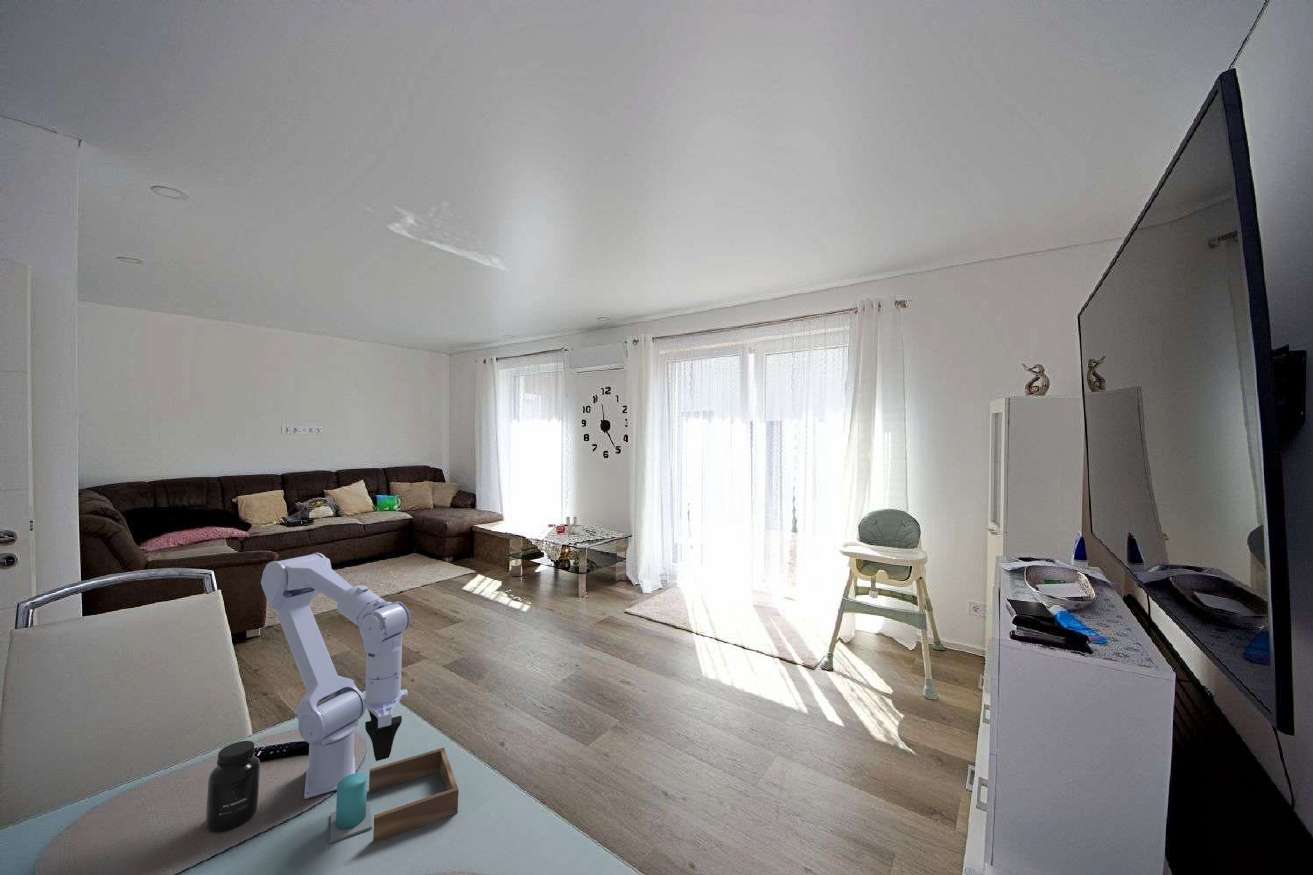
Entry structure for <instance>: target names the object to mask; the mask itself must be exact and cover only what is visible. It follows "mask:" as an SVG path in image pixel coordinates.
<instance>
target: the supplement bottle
mask: <svg viewBox="0 0 1313 875" xmlns="http://www.w3.org/2000/svg"><path fill="white" fill-rule="evenodd" d="M260 760H261V759H259V757H258V756H255V743H254V741H251V740H241V741H237V742H233V743H231V744H227V745H226V746H224V747H222V749H220V750H219V752H217V761H216V767H214V768H213V770H212V771H211V773H210V774H209V776H208V782H207V796H206V811H205V812H206V813H205V829H206V831H208V832H210V833H213V834H221V833H226V832H230V831H233V830H235V829H238V828H240V827H241V826H243V825H245V824H247V823H248V822H249V821H250V820H252V818H253V817H255V814H256V813H257V811H258V805H259V793H260V791H259V790H260V779H261V761H260Z"/></svg>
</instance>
